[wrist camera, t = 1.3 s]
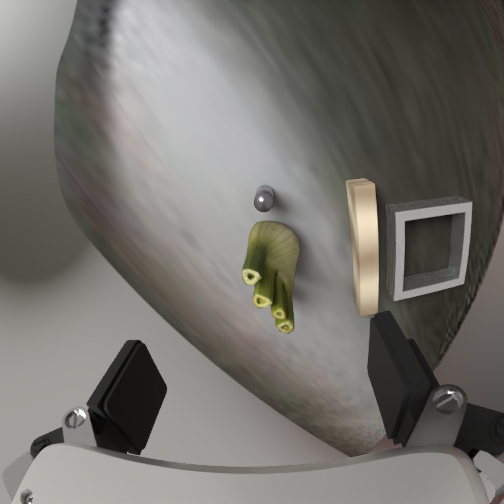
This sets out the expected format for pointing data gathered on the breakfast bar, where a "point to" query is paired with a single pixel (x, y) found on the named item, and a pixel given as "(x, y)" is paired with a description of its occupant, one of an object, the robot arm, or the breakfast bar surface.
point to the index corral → (395, 246)
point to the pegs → (264, 198)
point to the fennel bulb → (272, 269)
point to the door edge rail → (364, 244)
